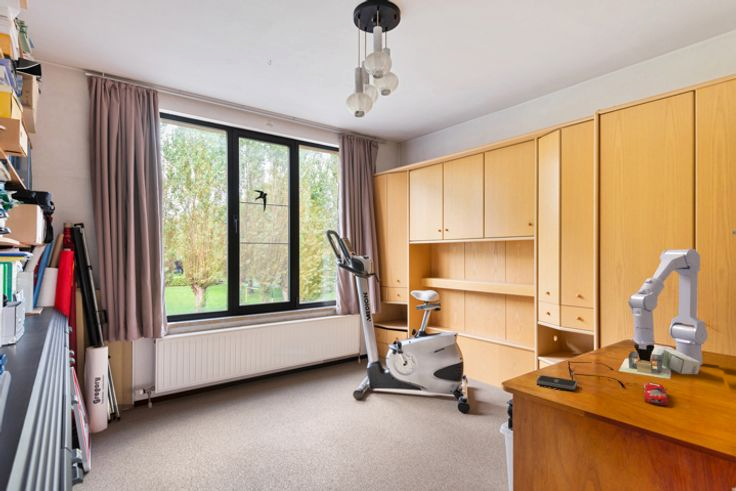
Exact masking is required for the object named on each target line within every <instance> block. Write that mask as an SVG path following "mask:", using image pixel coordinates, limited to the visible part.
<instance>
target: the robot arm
mask: <svg viewBox="0 0 736 491" xmlns="http://www.w3.org/2000/svg"><path fill="white" fill-rule="evenodd" d="M659 261H660V263H659V266H658V267H657V268H656V269H655V273H654V274H653V276H652V277H648V278H647V279H645V281H644V283H643V284H642V285H641V287H640V288H639V289H638V291H637V292H636V293H633V294H632V295H631V296H630V297H629V299H628V302H627V303H628V306H629V307H630V312H631V314H632V318H633V319H632V321H633V337H631V338H630V339H629V341H631V342H634V343H636V344H634V345H633V346H634V349H635V352H637V353H638V355H639V356H638V358H639V359H638V360H644V361H651V357H652V352H653V350H654V347H655V346H654V344H656V341H655V330H654V311H655V309H656V308H657V306H658V300H659V298H658V297H659V296H660V294H662V292H663V290H664V288H665V284H664V282H665V280H667V279H668V277H669V276H670V275H671V274H672V273H673V271H674V272H677V274H678V275H679V276H678V277H679V280H678V313H677V314H678V315H677V316H675V317H673V318H672V319H670V320H671V321H670V322H671V323H670V326H669V327H668V332H669V335H670V337H671V338H672V340H673V342H675V350H677V351H678V352H680V353H682V354H684V355H686V356H688V357H690V358H693V359H695V360H697V361H699V362H701V364H700V366H702V365H703V353H702V345H704V343H705V342H706V341H707V339H708V337H709V336H708V331H707V326H706V323H705V322H704V321H702V320H701V319H700V318H699V317H698V284H699V282H698V281H699V280H698V276H699V275H698V274H699V272H700V269H701V268H700V267H701V255H700V253H699V252H698V251H697V250H696V249H695V248H687V249H685V248H683V249H664V250H663V251H662V252H661V255H659Z"/></svg>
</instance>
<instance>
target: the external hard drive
mask: <svg viewBox="0 0 736 491" xmlns="http://www.w3.org/2000/svg"><path fill="white" fill-rule="evenodd" d="M537 385H540V386H539V387H542V386H546V387H545V388H548V387H551V388H550V389H553V388H556V389H555V390H559V389H560V391H564V390H565V391H566V392H571V393H575V390H577V387H578V381H577V380H574V379H573V380H572V379H567V378H561V377H555V376H549V375H542V374H541V375H539V376H538V377H537V379H536V386H537Z"/></svg>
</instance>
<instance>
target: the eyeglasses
mask: <svg viewBox="0 0 736 491" xmlns="http://www.w3.org/2000/svg"><path fill="white" fill-rule="evenodd" d="M567 362H568V367H567V368H568V371H569V372H568V373H569V377H570V378H571V380H574V375H575V376H586V377H587V376H588V377H596V375H593V374H583V373H582V374H581V373H573V370H572V368H571V364H572V363H574V364H575V363H576V364H577V363H578V364H591V362H589V361H586V362H585V361H570V360H568V361H567ZM570 363H571V364H570ZM596 364H599V365H602V366H605V367H607V368H609V369H610V370H611V371H614V368H612V367H611V366H608V365H607V364H603V363H601V362H596ZM597 377H601V378H606V376H603V375H597ZM607 378H608V379H612V380H615V381H616V382H618V383H619V384H620V386H621V388H626V386H625V384H624V383H623V382H622V381H621V380H619V379H617V378H614V377H610V376H607Z"/></svg>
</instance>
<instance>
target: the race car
mask: <svg viewBox="0 0 736 491" xmlns="http://www.w3.org/2000/svg"><path fill="white" fill-rule="evenodd" d="M667 394H668V392H667V391H666V389H665V388H664V386H663V385H662V384H660V383H655V382H645V383H644V385H643V395H644V396H643V397H644V402H645V403H648V404H654V405H659V406H669V404H668V396H667Z"/></svg>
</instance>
